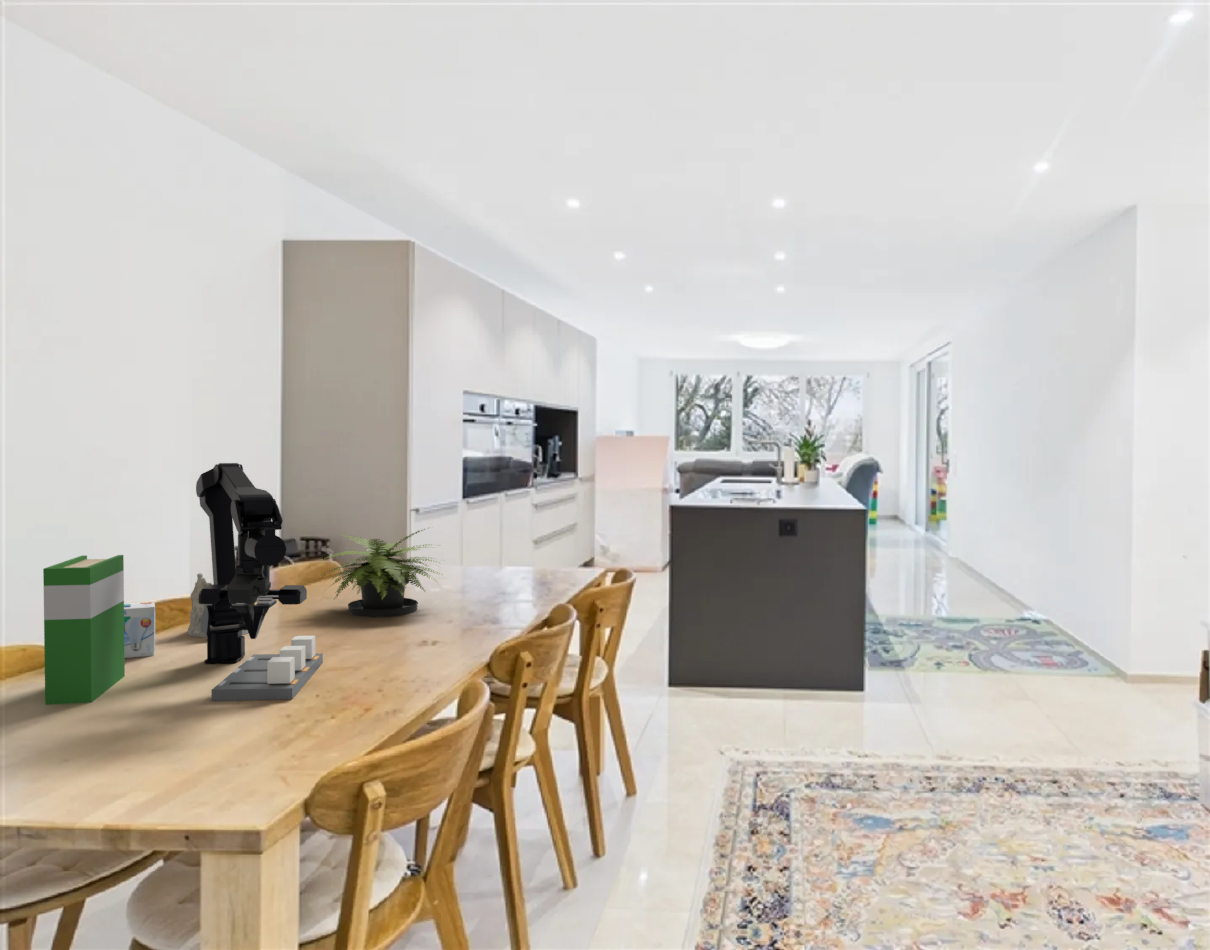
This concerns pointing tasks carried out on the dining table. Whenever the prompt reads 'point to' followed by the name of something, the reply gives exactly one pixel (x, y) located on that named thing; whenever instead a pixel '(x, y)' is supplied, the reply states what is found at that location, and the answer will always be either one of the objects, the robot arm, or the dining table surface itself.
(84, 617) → the hardback book
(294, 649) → the handle mid
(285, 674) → the handle
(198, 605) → the grey rough lump
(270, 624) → the dining table surface
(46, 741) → the dining table surface
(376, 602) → the fern plant
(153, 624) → the light bulb box
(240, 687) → the breaker panel
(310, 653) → the handle far
